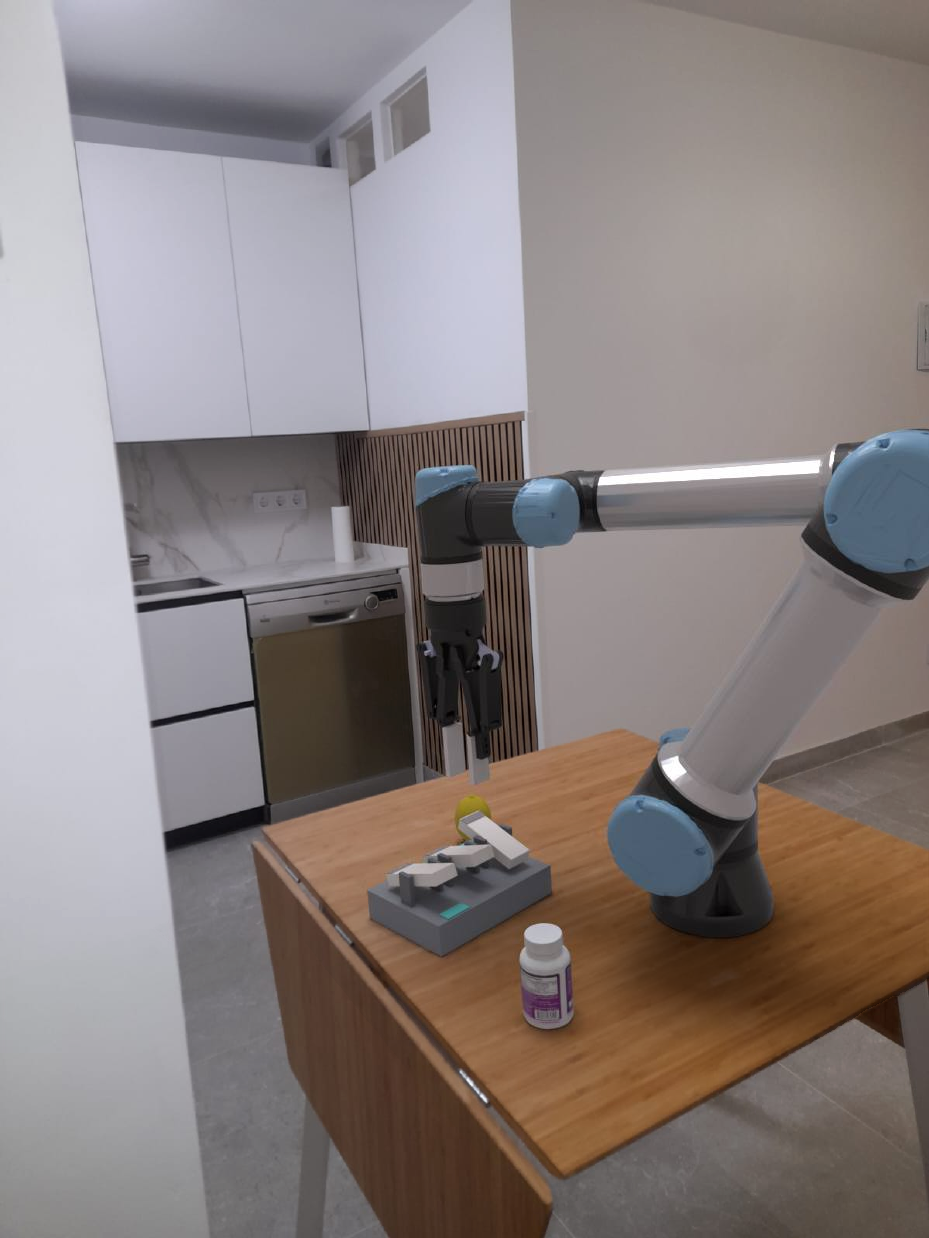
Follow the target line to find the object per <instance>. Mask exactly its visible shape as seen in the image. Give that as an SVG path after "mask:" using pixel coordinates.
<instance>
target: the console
mask: <svg viewBox="0 0 929 1238" xmlns="http://www.w3.org/2000/svg"><path fill="white" fill-rule="evenodd" d="M497 825H498V826H499V827H500V828H502V829H503V830H504V831H506V832H507V833H508V834H509V835H511V836H512V837H513V827H512V826H509V825H507V824H503V823H500V824H497ZM473 839H474V841H473V840H465V841H463V843H462V844H459V845H458V846H468V845H487V839H484V838H481V837H479V836H475V837H473ZM437 857H438V860H436V859H433V858H429V859H427V860H428V863H452V862H451V857H450V856H447V855H445V854H443V853H439V854H437ZM424 863H425V861H423V862H422V863H420V864H424ZM455 868H456V871H457V875H458V876H456V877H454V878H452V879H450V880H448V881H446V882H444V883H442V884H440V885H438V886H436V887H433V886H413V876H412V875H409V874H407V873H405V872H403V871H402V872H399V884H400V886H389V885H388V881H387V880H385V881H383V882H381V883H379V884H377V885H375V886H372V887H371V888H369V889H367V890H366V893H367V900H368V901H367V903H368V912H369V919H370V920H373V921H374V922H376V923H377V924H380V925H382V926H383V927H385V928H388V930H391V931H393V932H394V933H396V934H398V935H400V936H402V937H404V938H406V939H408V940H409V941H411V942H413V943H415V944H416V945H418V946H421V947H422V948H424V949H426V950H427V951H428V952H429V951H430V952H431V953H434V954H435V955H437V956H439V957H441V958H442V957H444V956H447V955H448V954H449V953H450V952H453V951H454V950H456V949H458V948H459V947H461V946H463V945H464V944H466V943H468V942H470V941H471V940H474V939H475V938H477V937H478V936H481V934H483V933H486V932H487V931H490V929H492V928H493V927H496V926H498V925H499V924H501V923H502V922H504V921H506V920H508V919H509V918H511V917H513V916H514V915H516V914H518V913H520V912H522V911H523V910H525V909H526V908H528V907H530V906H532V905H533V904H535V903H536V902H538V901H540V900H542V899H544V898H546V897H548V896H549V895H550V894H552V893H553V890H552V888H553V887H552V871H551V870H552V868H551V865H550V864H549V863H546V862H543V861H541V860H538V859H536V858H533V857H531V856H528V860H526V861H524V862H522V863H520V864H518V865H517V866H515V867H513V868H511V869H508V868H507V867H505V866H504V865H503V864H502V863H500V862H499V861H498V860H497V859H495V858H494V857H493V858H491V859H489V860H487V861H485V862H483V863H481V864H479V865H477V866H475V867H455Z"/></svg>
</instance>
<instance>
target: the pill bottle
mask: <svg viewBox="0 0 929 1238" xmlns="http://www.w3.org/2000/svg"><path fill="white" fill-rule="evenodd" d="M523 933H524V934H523V939H524V940H523V941H524V943H523V944H524V947H523V948H522V950H521V952H520V954H519V973H520V986H521V987H520V989H521V1001H522V1003H521V1004H522V1009H523V1010H522V1011H523V1016H524V1018H525V1020H526V1022H528V1023H529V1024H530V1025H531V1026H533V1027H535V1028H538V1029H544V1030H552V1029H553V1030H554V1029H558V1028H562V1027H564V1026H566V1025H567V1024H569V1022H570V1021H571V1020H572V1018H573V1017H574V1013H575V1012H574V994H573V993H574V991H573V989H574V988H573V978H572V977H573V975H572V973H573V972H572V960H571V959H572V957H571V954H570V952H569V950H568V948H567V947H566V946H565V945H564V937H563V931H562V929H561V928H560V927H559V926H558V925H555V924H552V923H545V922H544V923H543V922H542V923H541V922H540V923H536V924H532V925H530V926H529V927H527V928H526V929H525V931H524V932H523Z"/></svg>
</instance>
